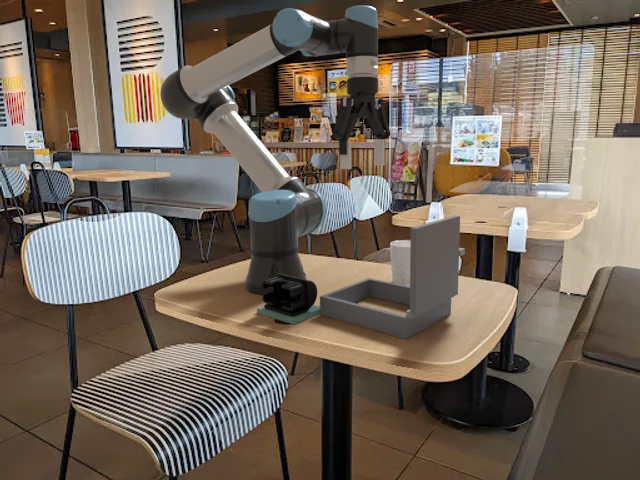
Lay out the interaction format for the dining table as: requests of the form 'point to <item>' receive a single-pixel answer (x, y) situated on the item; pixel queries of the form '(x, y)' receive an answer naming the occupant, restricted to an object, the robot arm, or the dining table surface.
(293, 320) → the rubber pad
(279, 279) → the end cap
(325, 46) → the robot arm
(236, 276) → the dining table surface
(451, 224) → the case
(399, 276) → the white cup
